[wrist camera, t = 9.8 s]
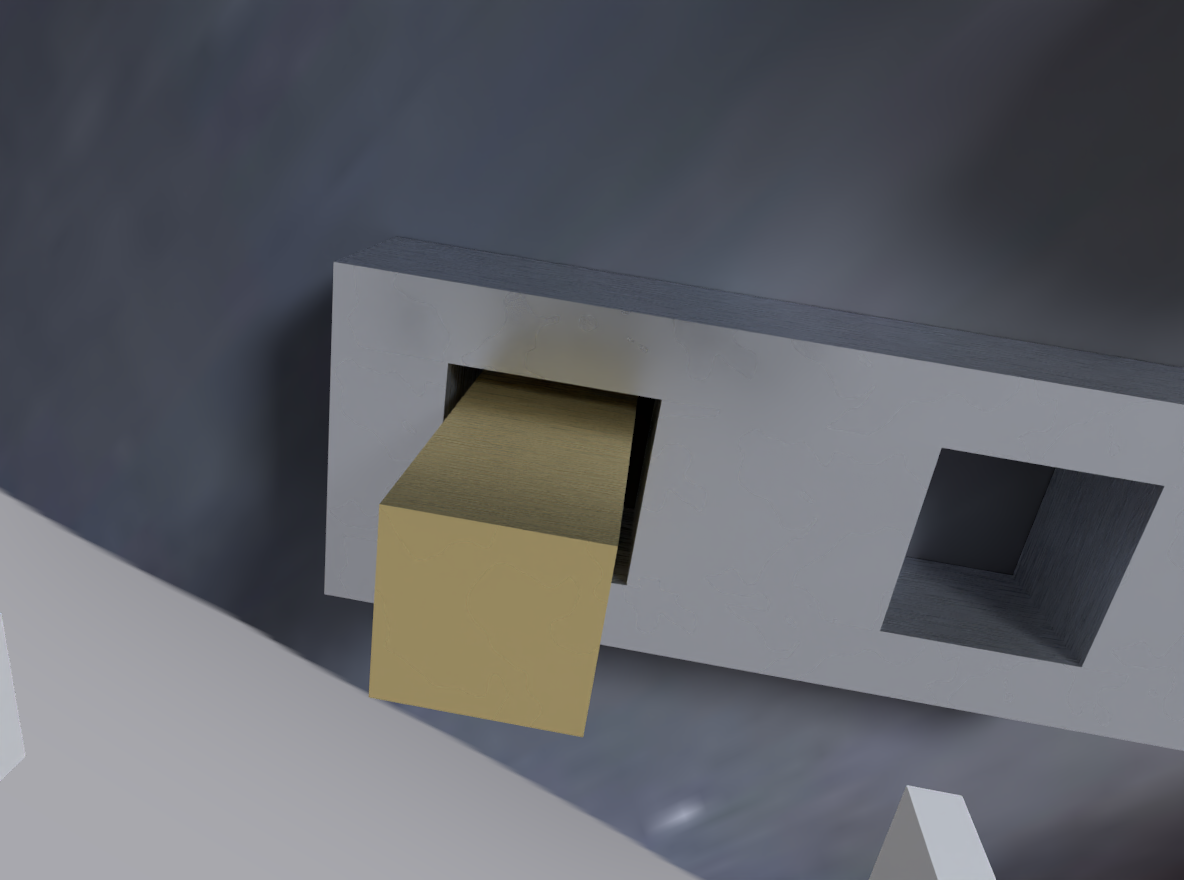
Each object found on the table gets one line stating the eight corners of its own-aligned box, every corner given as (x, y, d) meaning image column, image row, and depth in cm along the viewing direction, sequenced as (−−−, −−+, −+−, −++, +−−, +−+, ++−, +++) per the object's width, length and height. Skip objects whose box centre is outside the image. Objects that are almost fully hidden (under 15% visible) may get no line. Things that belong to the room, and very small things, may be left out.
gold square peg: (504, 342, 26) (379, 504, 15) (642, 365, 26) (618, 546, 15) (490, 468, 28) (368, 696, 17) (619, 490, 28) (583, 736, 17)
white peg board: (396, 236, 25) (333, 261, 21) (1239, 376, 24) (1372, 436, 20) (380, 519, 29) (324, 594, 24) (1111, 649, 28) (1198, 753, 23)
